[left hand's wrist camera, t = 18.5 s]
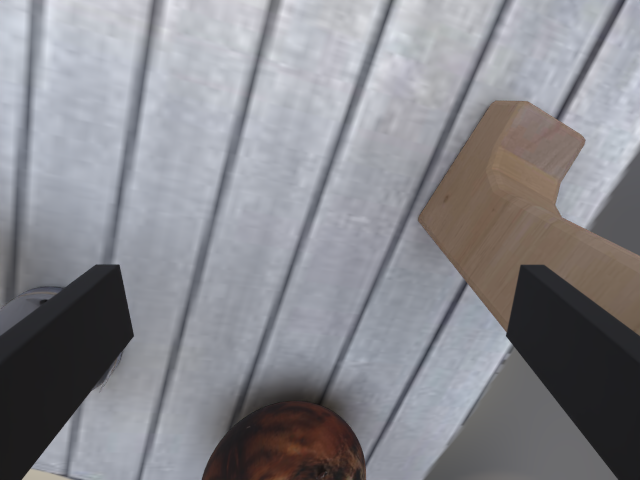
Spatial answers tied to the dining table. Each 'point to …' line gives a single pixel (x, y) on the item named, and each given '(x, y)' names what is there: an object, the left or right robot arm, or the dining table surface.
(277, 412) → the plush toy
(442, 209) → the decorative block
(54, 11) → the dining table surface
